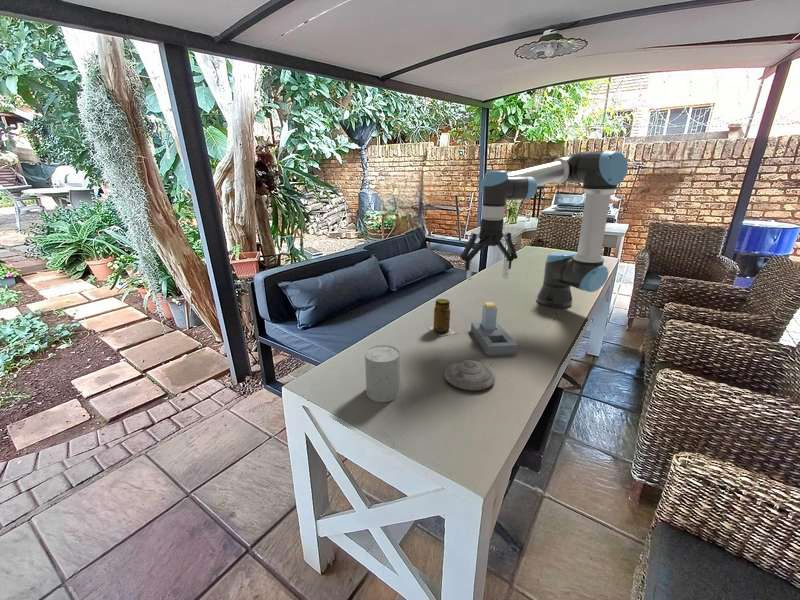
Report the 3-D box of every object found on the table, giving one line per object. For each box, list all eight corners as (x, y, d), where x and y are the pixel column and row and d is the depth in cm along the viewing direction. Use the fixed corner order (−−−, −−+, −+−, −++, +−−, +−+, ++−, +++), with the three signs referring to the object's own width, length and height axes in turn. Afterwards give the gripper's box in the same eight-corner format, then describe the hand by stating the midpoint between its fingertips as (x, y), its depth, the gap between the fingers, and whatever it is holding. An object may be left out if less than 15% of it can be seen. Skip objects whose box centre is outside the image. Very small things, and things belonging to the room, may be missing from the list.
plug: (491, 331, 139) (493, 301, 135) (494, 336, 136) (497, 305, 131) (480, 332, 139) (483, 302, 135) (484, 336, 135) (486, 306, 131)
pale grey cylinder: (366, 383, 108) (364, 345, 104) (398, 381, 109) (398, 344, 104) (366, 402, 99) (364, 362, 95) (401, 401, 100) (401, 361, 96)
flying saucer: (461, 399, 101) (462, 382, 99) (434, 372, 114) (435, 357, 112) (505, 387, 107) (507, 370, 105) (475, 362, 119) (476, 347, 117)
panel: (495, 329, 143) (496, 321, 141) (516, 354, 124) (517, 345, 123) (470, 330, 142) (471, 322, 141) (487, 355, 123) (488, 346, 122)
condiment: (444, 325, 147) (445, 296, 143) (456, 333, 140) (458, 303, 135) (428, 328, 144) (429, 299, 140) (439, 337, 137) (441, 307, 132)
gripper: (522, 216, 130) (515, 274, 137) (453, 217, 126) (450, 276, 134) (532, 219, 123) (524, 280, 130) (460, 220, 119) (456, 282, 127)
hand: (486, 278), depth 132 cm, fingers open, 13 cm apart
